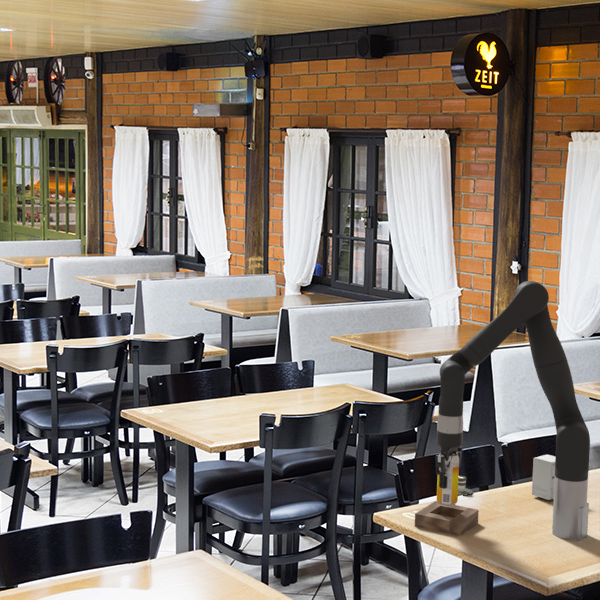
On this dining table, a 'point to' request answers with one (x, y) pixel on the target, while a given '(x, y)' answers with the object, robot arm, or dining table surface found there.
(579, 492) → the robot arm
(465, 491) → the pot lid
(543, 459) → the supplement box
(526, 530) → the dining table surface
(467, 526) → the box holder
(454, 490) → the beer can
